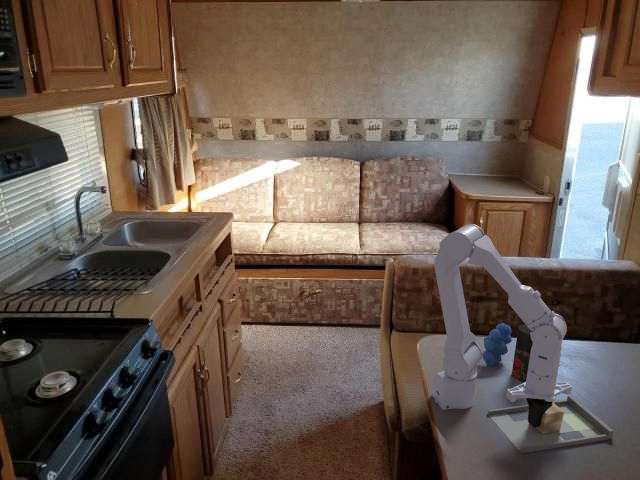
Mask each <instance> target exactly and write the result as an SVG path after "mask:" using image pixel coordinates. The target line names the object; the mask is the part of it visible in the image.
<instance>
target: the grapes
mask: <svg viewBox="0 0 640 480" xmlns="http://www.w3.org/2000/svg"><path fill="white" fill-rule="evenodd" d="M512 333H513V332H512V328H511V326H510V325H509V324H506V323H504V322H501V323H499V324H497V325H496V326H495V328H493V329H492V330H491V331H489V335H487V336H484V338H483V346H484V347H483V348H484V349H485V350H484V351H482V360H483V361H484V363H485V364H486V366H487V367H493V366H494V365H495V364H496V365H497V364H499V363H501V362H502V360H503V359H502V356H504V355H506V354H508V352H509V350H508V346H507V345H508V344H511V342H512V341H513V339H512V336H511V334H512Z"/></svg>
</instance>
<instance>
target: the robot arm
mask: <svg viewBox="0 0 640 480" xmlns="http://www.w3.org/2000/svg"><path fill="white" fill-rule="evenodd" d="M467 259H468V260H467ZM466 260H467V262H466V263H467V264H468V265H469V264H470V265H476V266H480V267H483V268H484V269H485V270H486V271H487V272H488V273H489V275H491V277H492V278H493V279H494V280H495V281H496V282H497V283H498V284H499V285H500V287H501V288H503V290H504V291H505V292H506V293H507V294H508V300H507V302H508V304H509V306H510V307H511V308H512V309H513V311H514V312H515V313H516V314H517V316H518V317H519V318H520V319H521V321H522V322H523V324H526V326H527V327H528V328H529V329H530V330H531V331H532V332H531V333H530V336H531V339H532V341H533V346H532V348H531V353H530V360H529V366H528V372H527V379H526V382H523V383H521V384H518V385H517V386H514V387H512V388H507V390H506V394H505V397H506V398H507V399H508V401H509V402H511V403H514V402H516V400H523V399H526V402H527V405H528V406H529V412H528V413H527V420H528V422H529V423H530V424H531V425H532V426H533V427H539V426H540V424H541V420H542V416H543V414H544V413H545V412H546V411H547V410H548V409H549V408H550V407H551V406H552V403H553V402H552V401H556V397H557V396H559V395H561V394H565V395H567V396H570V395H571V394H572V389H573V386H571V384H569V383H568V382H567V381H557V379H558V374H559V373H558V372H559V367H560V362H561V357H562V356H561V355H562V353H561V351H562V349H563V348H562V344H563V339H565V336H566V334H567V331H568V329H567V328H568V327H567V323H566V321H565V319H564V317H563V316H562V315H560V314H558V313H556V312H555V311H554V310H551V309H550V308H549V307H548V306H547V304H546V303H545V302H544V301H543V299H542V298H541V296H542V294H541V293H540V292H539V290H534V289H533V287H531V286H529V285H523V284H522V283H521V281H520V280H519V279H518V277H517V276H516V275H515V274H514V272H513V270H512V269H511V267H509V265H508V263H507V262H506V261H505V260H504V258H503V257H502V255H501V254H500V253H499V251H498V250H497V248H496V247H495V246H494V243H493V241H492V240H491V238H490V236H488V235H487V234H485V231H484V230H483V229H482V227H480V226H479V225H476V224H473V223H467V224H464V225H463V226H462V227H459V228H458V229H457V230H454V231H452V232H450V233H448V234H447V235H446V236H444V238H443V239H442V240H441V241H440V242H439V248H438V252H437V255H436V256H435V260H434V261H433V262H434V263H433V267H434V271H435V272H434V273H435V277H436V278H435V279H436V283H437V289H438V294H439V298H440V304H441V311H442V315H443V320H444V326H445V332H446V341H445V342H444V343H445V344H444V346H443V347H444V348H443V352H444V356H443V360H442V367H443V370H442V371H440V372H437V373H435V374H434V376H433V380H432V392H431V396H432V397H433V399H434V402H435V403H436V404H438V406H439V407H440V408H441V410H443V411H445V410H452V409H459V410H461V409H462V410H463V409H470V408H472V406H473V405H474V402H475V401H474V400H475V396H476V395H475V394H476V386H477V378H478V369H477V364H478V363H480V362H481V361H482V359H483V356H482V353H483V351H482V348H481V347H480V344H479V343H478V342H477V339H476V335H475V334H474V333H473V332H471V329H470V323H469V317H468V312H467V306H466V301H465V300H466V299H465V296H464V295H465V294H464V289H463V283H462V276H461V273H460V272H461V271H460V267H461V266H462V264H463V263H464V262H465V261H466Z"/></svg>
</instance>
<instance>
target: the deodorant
mask: <svg viewBox="0 0 640 480" xmlns="http://www.w3.org/2000/svg"><path fill="white" fill-rule="evenodd" d="M531 332H532V331H531V330H530V329H529V328H528V327H527V326H526V324H525V323H523V324H520V325H518V328H517V334H516V335H517V336H516V340H515V341H516V342H515V348H514V355H513V362H512V367H511V368H512V369H511V376H512V377H513V378H514V379H515V380H517V381H520V382H523V383H525V382H526V379H527V372H528V366H529V360H530V353H531V348H532V346H533V341H532V339H531V336H530V333H531Z"/></svg>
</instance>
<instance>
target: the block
mask: <svg viewBox="0 0 640 480" xmlns="http://www.w3.org/2000/svg"><path fill="white" fill-rule="evenodd" d="M563 415H564V411H563V410H561V409H560V408H559V407H558V406H557V405H555V404H554V403H552V406H551V407H550V408H549V409H548V410H547V411H546V412H545V413H544V414H543V416H542V420H541V424H540V426H539V427H536V428H537V429H538V430H539V431H540V432H541V433H542V434H546V433H553V432H560V428H561V424H562V420H563Z"/></svg>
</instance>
